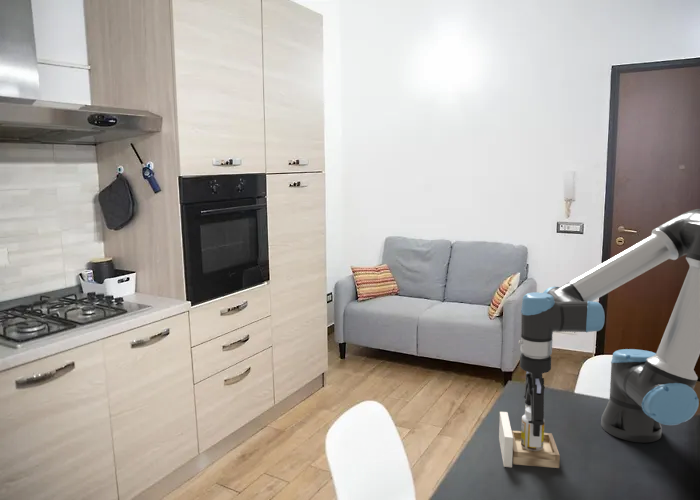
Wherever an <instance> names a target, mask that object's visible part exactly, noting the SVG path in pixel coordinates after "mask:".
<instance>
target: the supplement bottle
mask: <svg viewBox="0 0 700 500" xmlns="http://www.w3.org/2000/svg"><path fill="white" fill-rule="evenodd" d="M528 421H531V407H528V408H526V409H525V408H524V414H523V415H522V416H521V446H522V447H523V448H524V449H526V450H528V451H541V450H542V449H543V443H544V433H545V424H544V425H542V435H541V447H530V446H529V440H530V423H528Z"/></svg>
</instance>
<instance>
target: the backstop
mask: <svg viewBox="0 0 700 500" xmlns="http://www.w3.org/2000/svg"><path fill="white" fill-rule="evenodd" d="M511 430H512V427H511V421H510V417H509V413H508V411H499V429H498V441H499V446H500V452H501V458H502V464H503V467H504V468H505V467H506V468H513V460H512V455H513V435H512V431H513V430H512V431H511Z"/></svg>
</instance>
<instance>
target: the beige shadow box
mask: <svg viewBox="0 0 700 500" xmlns="http://www.w3.org/2000/svg"><path fill="white" fill-rule="evenodd" d="M511 431H512V435H513V455H512V465H518V466H529V467H542V468H552V469H553V468H554V469H555V468H556V469H560V457H561V455H560V453H559V450H558V446H557V444H556V441H555V439H554V436H553V433H551V432H550V433H548V432H544V443H543V449H542V450H541V451H528V450H526V449H524V448H523V447H522V446H521V431H520V430H512V429H511Z"/></svg>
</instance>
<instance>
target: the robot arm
mask: <svg viewBox="0 0 700 500" xmlns="http://www.w3.org/2000/svg"><path fill="white" fill-rule="evenodd" d="M684 256H685V260H686V261H687V263H688V265H689V268H688V271H687V273H686V276H685V278H684V281H683V284H682V286H681V289H680V291H679V294H678V297H677V299H676V302H675V304H674V306H673V310H672V312H671V315H670V317H669V320H668V323H667V325H666V327H665V330H664V332H663V335H662V338H661V341H660V343H659V345H658V347H657V350H656V352H653V351H649V350H646V349H645V350H643V349H635V348H629V349H628V348H625V349H624V348H623V349H618V350H615V351H614V352H613V353H612V357H611V361H610V364H611V367H610V384H609V385H610V386H609V400H608V402H607V405H606V407H605V409H604V411H603V413H602V415H601V421H600V425H601V427H602V429H603V431H605V432H606V433H608V434H610V435H611V436H613V437H615V438H618V439H621V440H623V441H628V442H633V443H642V444H645V443H646V444H647V443H654V442H657V441H658V440H660V439H661V438H662V430H663V428H662V425H664V426H677V425H678V426H679V425H680V424H682V423H685V422H687V421H689V420H691V419H692V418H693V417H694V416H695V414H696V413H697V411H698V409H699V401H700V400H699V398H698V394H697V393H696V391H695V390H694V389H695V387H696V383H697V381H698V379H699V377H698V374H696V371H695V370H694V369H695V366H696V364H697V362H698V359H699V357H700V208H696V209H691V210H688V211H686V212H684V213H682V214H680V215H677V216H675V217H673V218H671V219H670V220H668V221H666V222H664V223H662V224H660V225H659V226H657V227H655V228H653V229H652V230H651V234H650V235H649V236H648V237H645V238H643V239H641V240H640V241H638V242H637V243H635V244H633V245H632V246H630V247H628V248H627V249H625V250H623V251H621V252H620V253H618V254H616V255H614V256H612V257H610V258H609V259H607V260H605V261H603V262H602V263H600V264H598V265H597V266H595V267H593V268H591V269H590V270H588V271H586V272H584V273H583V274H581V275H579V276H578V277H576V278H574V279H572V280H570V281H569V282H566V283H565V284H563V285H561V286H550V287H547V288H546V289H545V290H544V291H543V292H539V291H538V292H536V291H533V292H527V293H526V294H524V295H523V297H522V302H521V310H520V313H521V318H520V319H521V320H520V321H521V323H520V330H521V331H520V339H521V340H520V339H519V340H518V343H517V344H518V345H520V354H519V367H520V369H521V370H523V371H524V372H525V384H524V385H525V386H524V396H523V398H524V400H525V401H524V403H525V407H524V410H525V409H526V408H528V407H531V421H528V423H530V440H529V446H530V447H541V435H542V425H544V426H545V418H544V417H545V415H544V414H545V412H544V409H545V404H544V403H545V397H544V396H545V387H546V386H545V378H544V377H543V374H545V373H549V372H550V371H551V369H552V354H553V334H554V333H555V332H556V333H560V332H561V333H562V332H563V333H566V332H569V333H573V332H574V333H589V332H591V333H592V332H599V331H601V330H602V329H603V327H604V325H605V322H606V321H605V318H606V317H605V310H604V308H603V305H602V304H601V303H600V302H599V301H596V300H597V299H599V298H601V297H604V296H605V295H607V294H608V293H610V292H612V291H613V290H616V289H617V288H619V287H621V286H623V285H624V284H625V285H626V283H628V282H630V281H632V280H633V279H635V278H637V277H639V276H640V275H641V276H642V275H643V274H644V273H646V272H648V271H649V270H651V269H654V268H655V267H657V266H658V265H660V264H662V263H664V262H666V261H667V260H673V261H676V260H677V259H680V258H681V257H684Z"/></svg>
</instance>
